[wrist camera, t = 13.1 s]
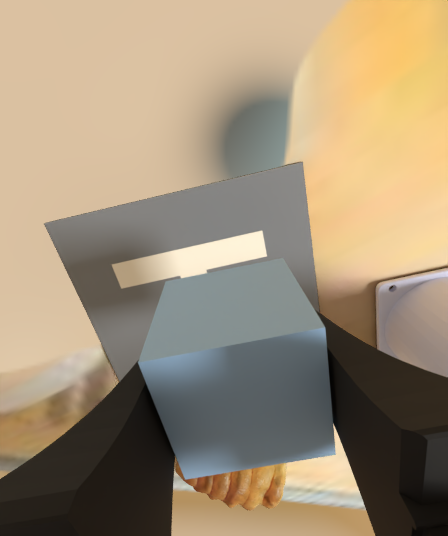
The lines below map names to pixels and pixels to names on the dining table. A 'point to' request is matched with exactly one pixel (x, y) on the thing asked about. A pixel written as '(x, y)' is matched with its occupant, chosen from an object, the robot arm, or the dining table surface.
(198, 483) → the pastry
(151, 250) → the board
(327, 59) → the dining table surface
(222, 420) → the blue cube
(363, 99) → the dining table surface
